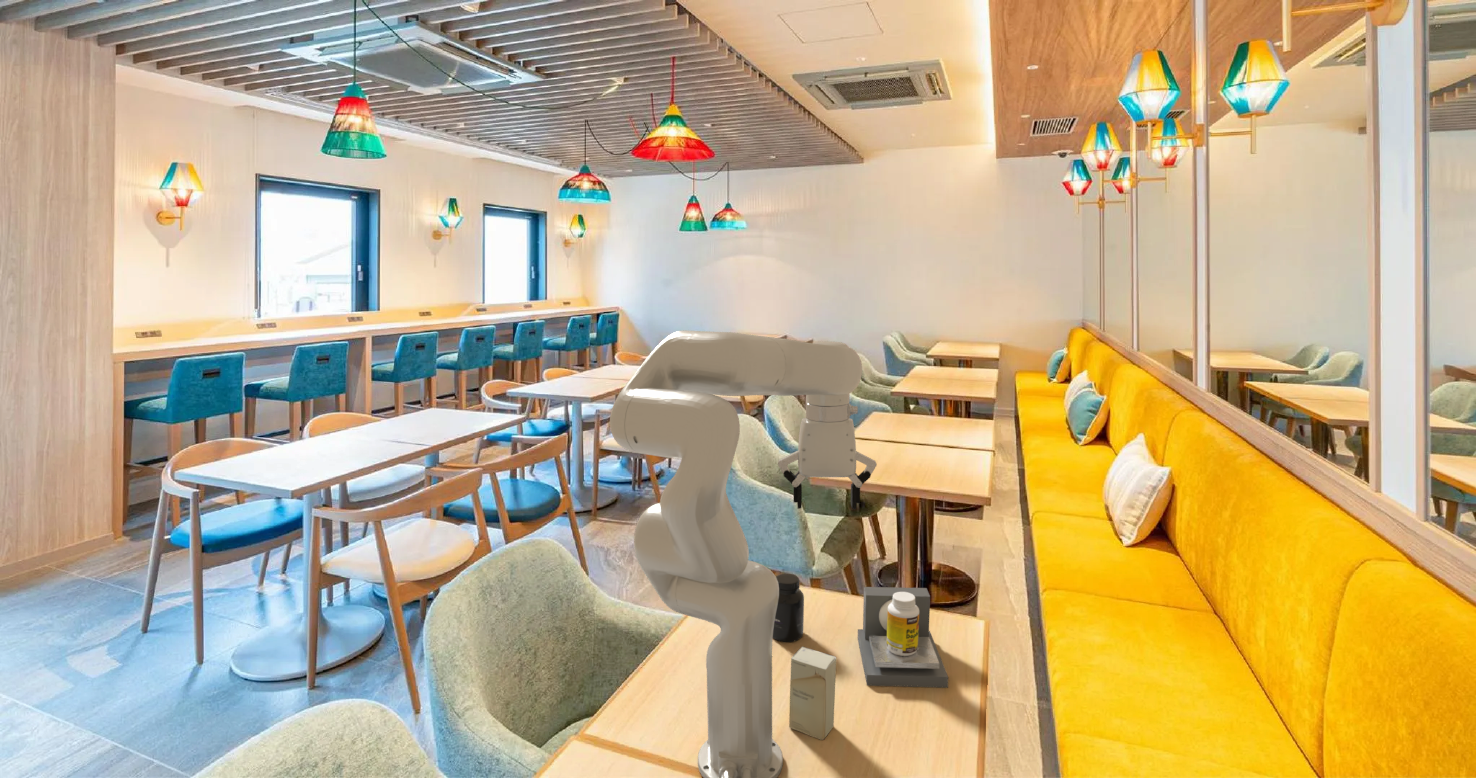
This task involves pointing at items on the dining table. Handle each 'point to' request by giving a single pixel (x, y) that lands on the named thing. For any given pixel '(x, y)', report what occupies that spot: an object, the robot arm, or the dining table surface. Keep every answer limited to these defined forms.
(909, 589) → the scale base
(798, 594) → the supplement bottle
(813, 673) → the skincare box
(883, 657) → the scale pan
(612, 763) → the dining table surface
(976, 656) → the dining table surface
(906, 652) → the supplement bottle
